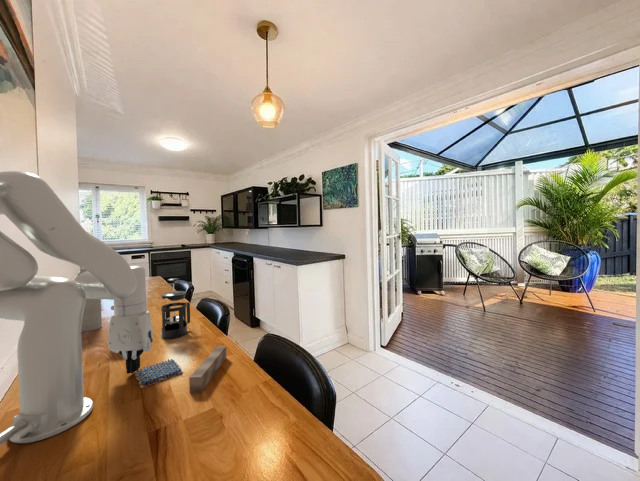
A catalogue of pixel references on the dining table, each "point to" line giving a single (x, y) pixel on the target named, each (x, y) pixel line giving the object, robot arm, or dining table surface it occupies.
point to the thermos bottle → (91, 312)
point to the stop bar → (207, 369)
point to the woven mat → (158, 372)
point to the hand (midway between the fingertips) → (133, 370)
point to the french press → (174, 324)
